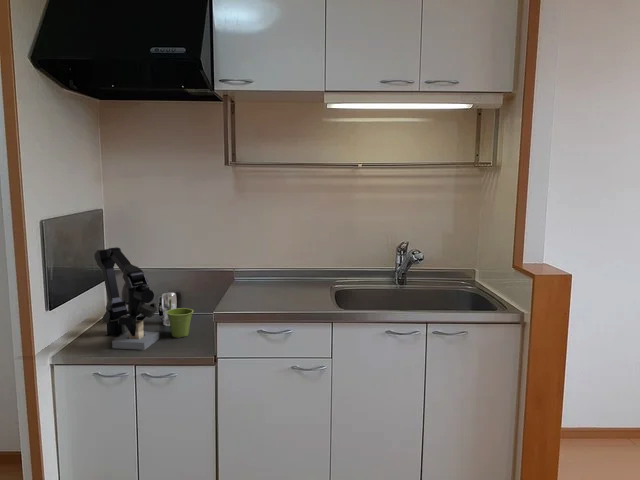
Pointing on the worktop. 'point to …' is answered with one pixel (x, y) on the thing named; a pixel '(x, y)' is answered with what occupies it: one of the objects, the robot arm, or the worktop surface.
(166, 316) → the beer glass
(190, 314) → the plant pot
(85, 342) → the worktop surface
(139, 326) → the maple peg
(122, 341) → the socket block
